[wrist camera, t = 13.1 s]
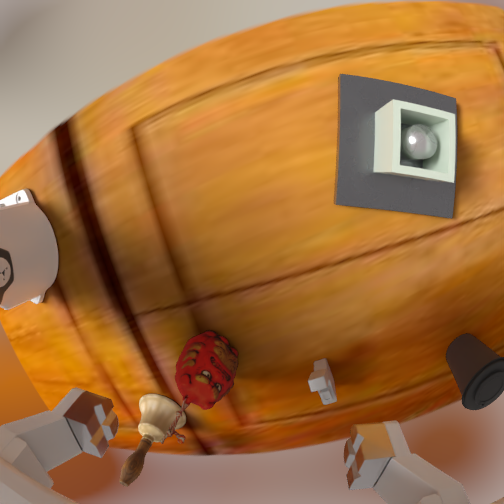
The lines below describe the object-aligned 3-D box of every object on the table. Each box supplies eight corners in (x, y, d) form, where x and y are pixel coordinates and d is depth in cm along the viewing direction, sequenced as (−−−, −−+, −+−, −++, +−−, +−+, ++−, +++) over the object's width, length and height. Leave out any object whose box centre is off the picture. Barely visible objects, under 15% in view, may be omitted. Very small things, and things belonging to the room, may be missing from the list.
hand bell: (193, 428, 42) (163, 503, 27) (152, 427, 44) (115, 492, 28) (174, 392, 40) (132, 471, 25) (131, 392, 42) (85, 459, 27)
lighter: (334, 380, 36) (340, 422, 29) (321, 384, 37) (325, 426, 29) (319, 339, 35) (324, 379, 27) (306, 344, 35) (307, 384, 28)
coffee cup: (437, 380, 34) (461, 424, 25) (437, 336, 33) (468, 380, 23) (480, 360, 33) (510, 398, 23) (483, 316, 31) (520, 351, 22)
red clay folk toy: (252, 360, 37) (230, 449, 23) (213, 382, 39) (180, 463, 24) (212, 318, 36) (169, 397, 22) (175, 344, 38) (125, 418, 24)
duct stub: (333, 203, 31) (343, 210, 25) (338, 77, 27) (348, 56, 21) (446, 216, 29) (474, 226, 23) (450, 100, 26) (477, 89, 19)
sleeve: (373, 172, 28) (391, 172, 22) (375, 112, 26) (393, 99, 21) (427, 180, 27) (453, 182, 21) (428, 122, 26) (454, 114, 20)
